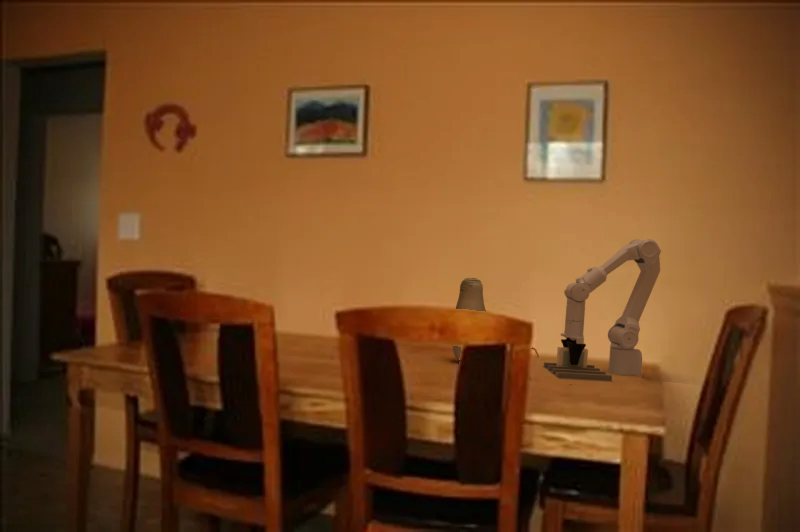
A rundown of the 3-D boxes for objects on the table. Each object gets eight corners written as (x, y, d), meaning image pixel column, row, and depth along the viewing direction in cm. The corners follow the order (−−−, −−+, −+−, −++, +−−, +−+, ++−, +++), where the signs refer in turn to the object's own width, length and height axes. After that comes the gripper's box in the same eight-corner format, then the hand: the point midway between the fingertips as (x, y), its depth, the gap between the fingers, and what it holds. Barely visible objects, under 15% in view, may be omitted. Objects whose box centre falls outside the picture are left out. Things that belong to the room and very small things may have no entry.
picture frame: (584, 370, 200) (585, 348, 200) (586, 371, 198) (588, 349, 197) (556, 368, 200) (557, 346, 200) (558, 370, 197) (559, 348, 197)
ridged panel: (591, 371, 204) (591, 364, 204) (613, 385, 184) (613, 376, 184) (542, 369, 204) (542, 361, 203) (559, 382, 184) (559, 373, 183)
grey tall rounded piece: (463, 358, 214) (468, 276, 213) (488, 363, 207) (493, 279, 207) (445, 361, 207) (450, 276, 206) (471, 366, 200) (476, 279, 199)
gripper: (555, 317, 206) (553, 358, 206) (568, 322, 191) (565, 366, 191) (577, 318, 206) (574, 359, 206) (591, 323, 191) (588, 368, 192)
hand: (571, 363), depth 199 cm, fingers open, 4 cm apart
